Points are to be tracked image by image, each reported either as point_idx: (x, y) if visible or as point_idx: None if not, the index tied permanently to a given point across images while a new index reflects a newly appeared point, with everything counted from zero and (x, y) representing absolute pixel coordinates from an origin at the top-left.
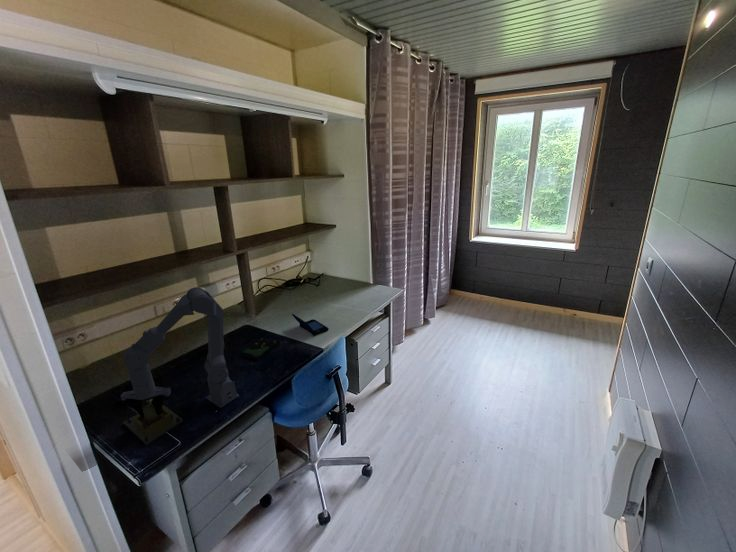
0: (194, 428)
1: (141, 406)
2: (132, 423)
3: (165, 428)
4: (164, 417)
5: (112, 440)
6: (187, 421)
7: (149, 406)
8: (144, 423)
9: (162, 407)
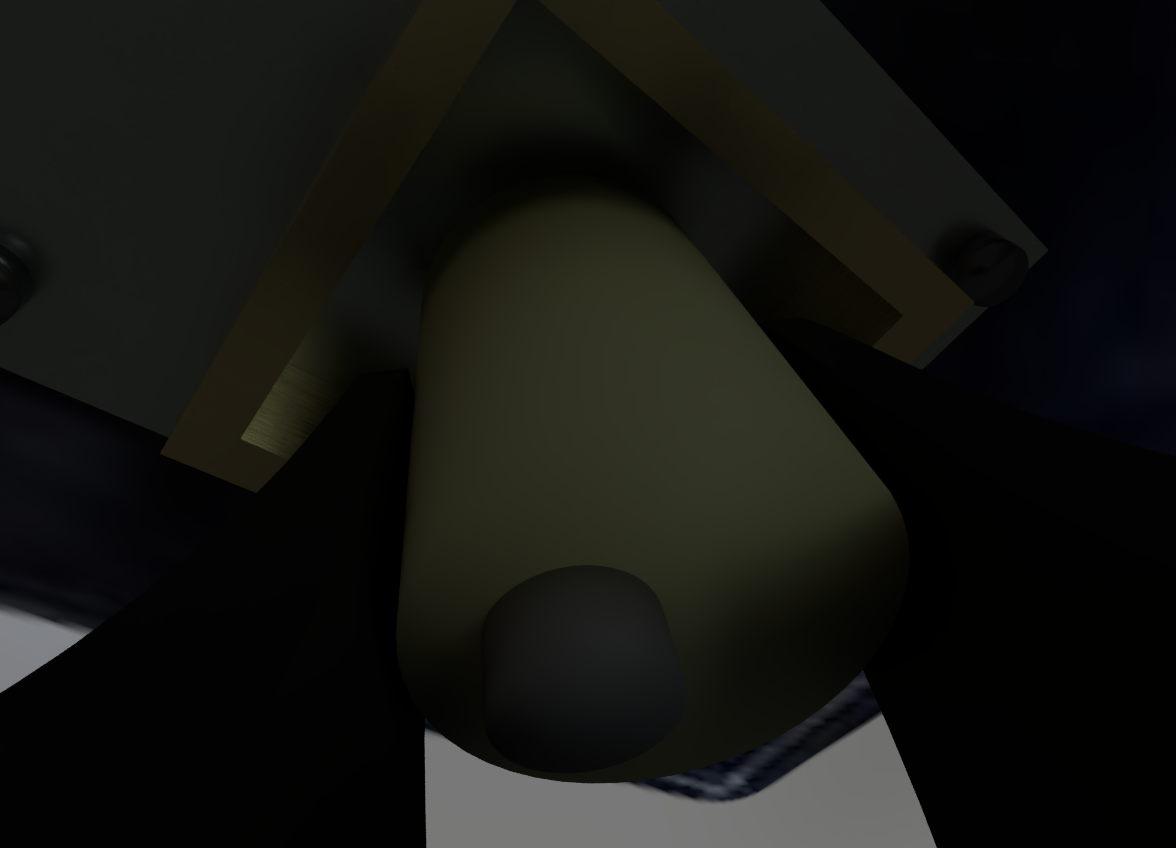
0: (1168, 369)
1: (393, 655)
2: (124, 336)
3: None
4: None
5: (84, 574)
6: (1080, 232)
7: (728, 727)
8: (389, 341)
9: (687, 73)
